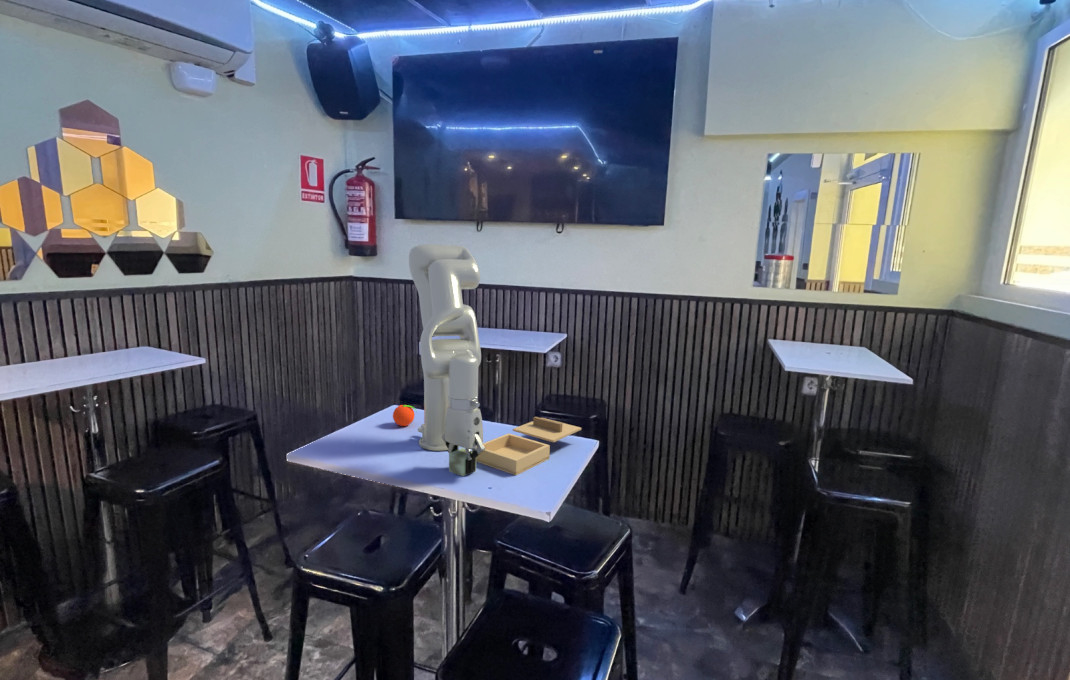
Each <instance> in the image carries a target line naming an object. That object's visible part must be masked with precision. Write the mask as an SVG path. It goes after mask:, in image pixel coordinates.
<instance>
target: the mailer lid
mask: <svg viewBox="0 0 1070 680" xmlns="http://www.w3.org/2000/svg"><path fill="white" fill-rule="evenodd" d="M532 420H533V421H530V422H527V423H525V424H522V425H520V426H517V427H514V428H512V431H513V432H516V433H520V434H522V435H525V436H529V437H533V438H536V439H539V440H540V439H541V440H544V441H546V442H550V443H555V442H558V441H560V440H562V439H564V438H567V437H569V436H571V435H573V434H575V433H578V432H579V431H582V427H580V426H576V425H572V424H568V423H565V422H562V421H557V420H553V419H548V418H545V417H539V416H534V417H533V418H532Z"/></svg>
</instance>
